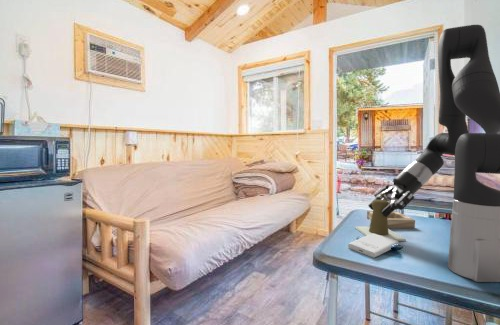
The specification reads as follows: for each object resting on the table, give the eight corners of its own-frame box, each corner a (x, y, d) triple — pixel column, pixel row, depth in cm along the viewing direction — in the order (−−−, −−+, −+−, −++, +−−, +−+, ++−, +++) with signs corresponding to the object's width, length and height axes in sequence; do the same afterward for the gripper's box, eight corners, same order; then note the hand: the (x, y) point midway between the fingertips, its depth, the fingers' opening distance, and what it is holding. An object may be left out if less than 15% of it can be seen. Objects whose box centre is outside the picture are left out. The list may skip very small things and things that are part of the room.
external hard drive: (398, 246, 77) (374, 258, 70) (371, 237, 83) (347, 247, 76) (398, 241, 76) (374, 252, 70) (372, 232, 83) (347, 242, 76)
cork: (392, 235, 86) (394, 202, 85) (373, 235, 86) (375, 201, 85) (383, 229, 92) (385, 198, 91) (365, 228, 92) (367, 197, 91)
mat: (405, 241, 83) (405, 239, 83) (371, 240, 83) (371, 238, 83) (385, 228, 95) (385, 226, 95) (355, 228, 95) (355, 226, 94)
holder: (414, 228, 96) (415, 219, 96) (382, 227, 96) (382, 219, 96) (395, 218, 108) (396, 211, 108) (366, 218, 108) (367, 210, 108)
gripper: (392, 167, 94) (359, 198, 95) (419, 172, 80) (380, 208, 81) (406, 182, 95) (373, 213, 95) (435, 190, 81) (396, 226, 81)
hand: (376, 211), depth 88 cm, fingers open, 8 cm apart
